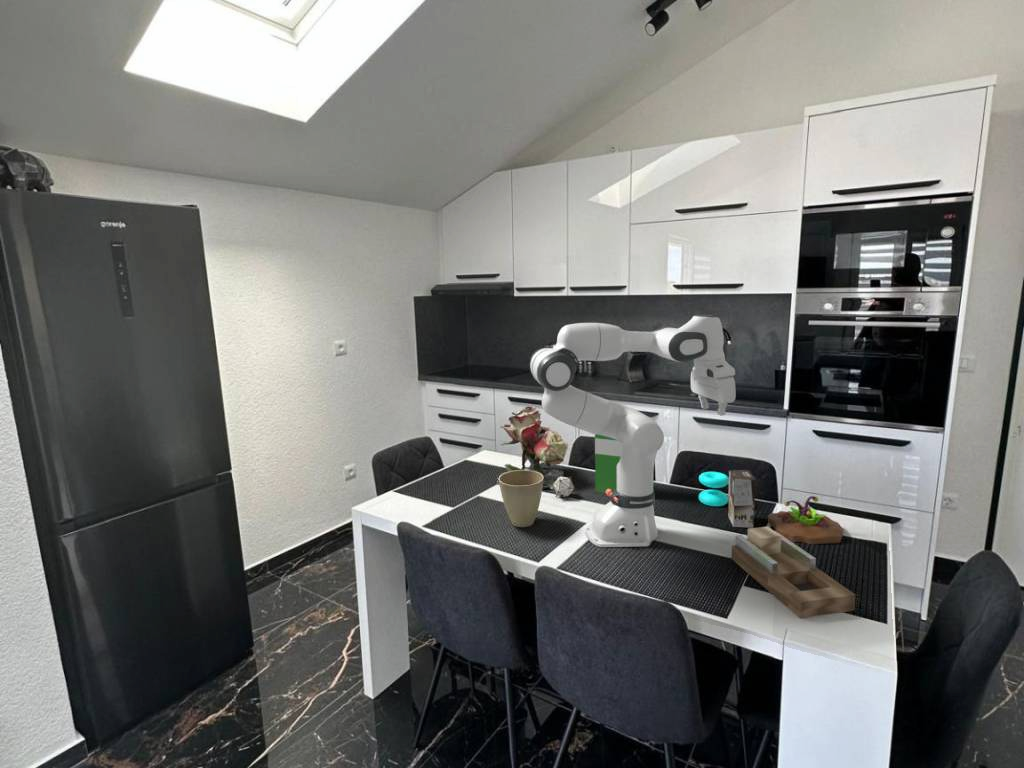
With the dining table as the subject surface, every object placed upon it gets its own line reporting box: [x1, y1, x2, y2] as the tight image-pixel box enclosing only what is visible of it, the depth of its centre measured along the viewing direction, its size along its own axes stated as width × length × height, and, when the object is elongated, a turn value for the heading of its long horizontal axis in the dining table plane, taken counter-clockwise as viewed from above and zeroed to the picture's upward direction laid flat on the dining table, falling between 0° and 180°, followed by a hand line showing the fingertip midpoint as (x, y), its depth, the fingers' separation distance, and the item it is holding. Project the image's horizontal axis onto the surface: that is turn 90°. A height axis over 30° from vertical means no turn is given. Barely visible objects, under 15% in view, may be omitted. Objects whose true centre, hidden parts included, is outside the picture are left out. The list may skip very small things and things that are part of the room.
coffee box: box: [727, 469, 756, 529], centre depth 173 cm, size 9×6×16 cm
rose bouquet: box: [496, 405, 569, 490], centre depth 220 cm, size 26×29×30 cm
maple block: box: [746, 526, 781, 555], centre depth 147 cm, size 6×6×5 cm
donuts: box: [698, 471, 729, 507], centre depth 190 cm, size 10×10×10 cm
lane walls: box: [734, 530, 817, 575], centre depth 143 cm, size 12×16×3 cm
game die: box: [550, 475, 577, 500], centre depth 201 cm, size 9×8×10 cm
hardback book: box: [594, 434, 622, 494], centre depth 202 cm, size 18×7×24 cm, turn 61°
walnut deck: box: [730, 544, 856, 619], centre depth 138 cm, size 14×28×4 cm, turn 9°
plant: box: [767, 495, 844, 545], centre depth 167 cm, size 20×20×11 cm
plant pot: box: [497, 470, 544, 528], centre depth 179 cm, size 15×15×16 cm
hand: (713, 411), depth 165 cm, fingers open, 8 cm apart
